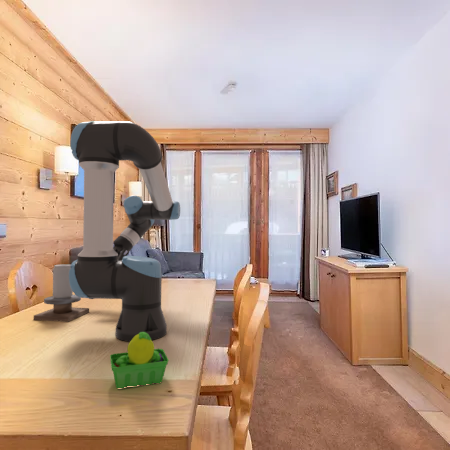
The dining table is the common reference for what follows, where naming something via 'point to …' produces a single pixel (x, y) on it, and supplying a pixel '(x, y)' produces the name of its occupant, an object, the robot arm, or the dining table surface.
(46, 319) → the pedestal stand
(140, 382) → the fruit basket
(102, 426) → the dining table surface
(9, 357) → the dining table surface
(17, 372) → the dining table surface
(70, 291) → the beverage can
